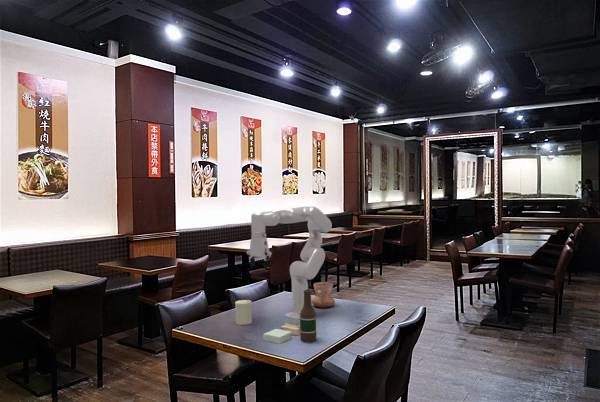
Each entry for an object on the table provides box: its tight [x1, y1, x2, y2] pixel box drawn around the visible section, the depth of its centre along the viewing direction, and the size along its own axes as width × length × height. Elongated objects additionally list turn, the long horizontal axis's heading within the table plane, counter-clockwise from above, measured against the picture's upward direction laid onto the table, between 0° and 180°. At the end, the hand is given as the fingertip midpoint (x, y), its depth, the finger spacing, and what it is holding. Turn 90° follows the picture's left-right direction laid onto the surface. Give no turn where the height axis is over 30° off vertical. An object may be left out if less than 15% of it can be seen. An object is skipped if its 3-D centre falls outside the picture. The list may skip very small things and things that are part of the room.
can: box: [234, 299, 253, 326], centre depth 240 cm, size 9×9×12 cm
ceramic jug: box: [311, 281, 336, 309], centre depth 274 cm, size 18×14×14 cm
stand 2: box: [280, 324, 300, 337], centre depth 222 cm, size 10×10×3 cm
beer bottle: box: [299, 289, 317, 343], centre depth 208 cm, size 8×8×24 cm
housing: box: [284, 311, 300, 328], centre depth 222 cm, size 5×8×6 cm, turn 55°
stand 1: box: [262, 328, 293, 345], centre depth 210 cm, size 10×10×3 cm
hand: (259, 267), depth 234 cm, fingers open, 9 cm apart
